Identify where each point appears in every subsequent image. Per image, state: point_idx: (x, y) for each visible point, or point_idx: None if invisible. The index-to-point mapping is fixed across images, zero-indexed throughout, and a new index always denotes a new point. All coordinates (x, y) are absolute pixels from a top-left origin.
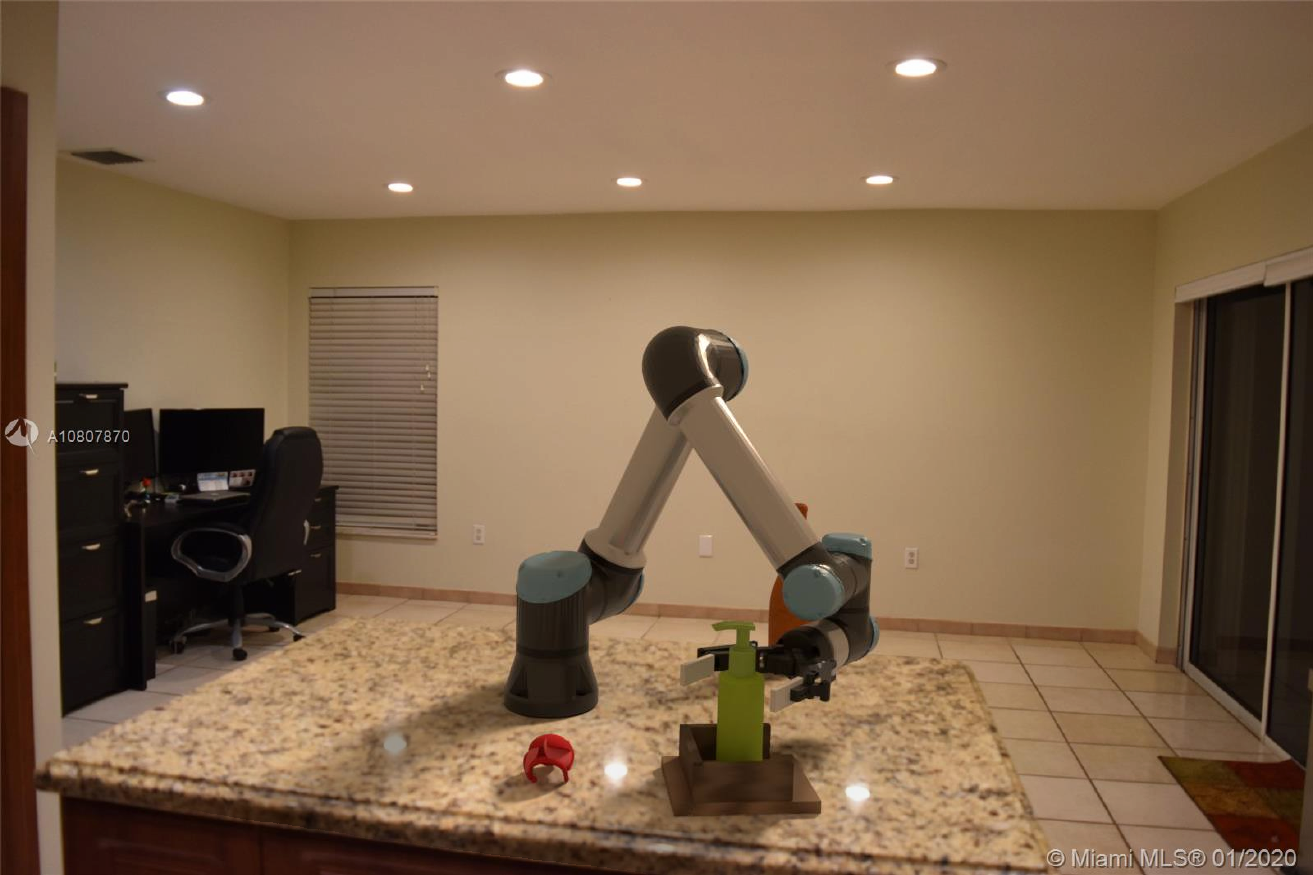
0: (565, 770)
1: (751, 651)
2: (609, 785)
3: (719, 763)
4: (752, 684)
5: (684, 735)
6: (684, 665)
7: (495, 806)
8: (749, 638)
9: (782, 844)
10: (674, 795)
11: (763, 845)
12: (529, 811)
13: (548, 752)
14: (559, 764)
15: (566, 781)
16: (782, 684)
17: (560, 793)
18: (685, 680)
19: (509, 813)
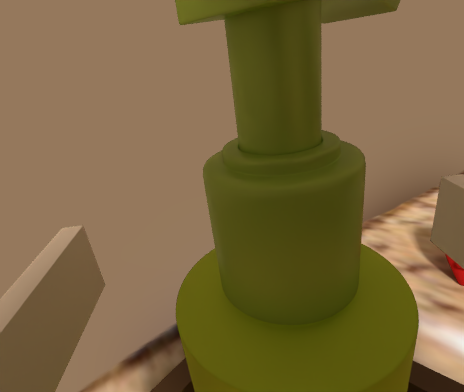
0: (447, 257)
1: (210, 160)
2: (429, 319)
3: None
4: (193, 267)
5: (419, 365)
6: (446, 176)
7: (409, 222)
8: (237, 91)
9: (106, 388)
10: None
11: (132, 364)
12: (383, 235)
13: None
14: None
15: (457, 280)
16: (44, 270)
17: (422, 267)
18: (435, 225)
19: (387, 224)
